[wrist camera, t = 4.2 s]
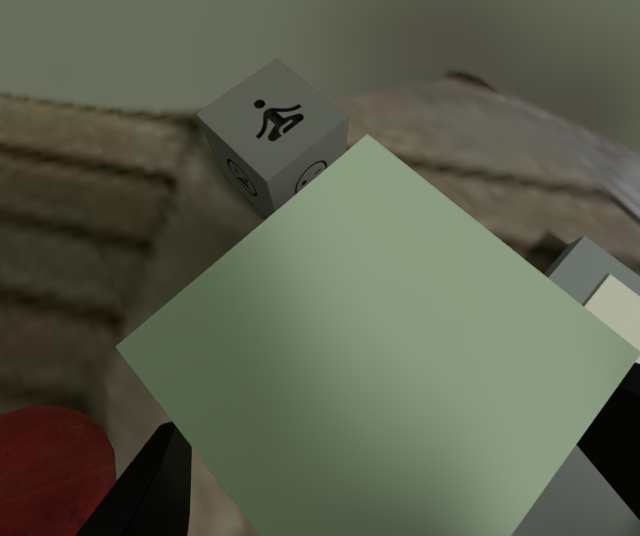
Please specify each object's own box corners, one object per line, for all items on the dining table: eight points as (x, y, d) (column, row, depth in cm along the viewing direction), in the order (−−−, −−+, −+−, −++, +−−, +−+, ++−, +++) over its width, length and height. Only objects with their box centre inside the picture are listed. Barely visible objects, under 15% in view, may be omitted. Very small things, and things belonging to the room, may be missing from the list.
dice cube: (280, 231, 20) (266, 181, 15) (224, 176, 21) (195, 114, 16) (343, 178, 21) (348, 116, 16) (286, 128, 22) (277, 57, 17)
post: (337, 457, 16) (389, 704, 4) (265, 375, 17) (115, 346, 5) (410, 377, 17) (642, 352, 5) (337, 305, 18) (367, 133, 6)
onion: (175, 488, 15) (33, 586, 8) (52, 581, 14) (-248, 797, 7) (119, 377, 17) (-45, 370, 9) (4, 454, 16) (-283, 516, 8)
